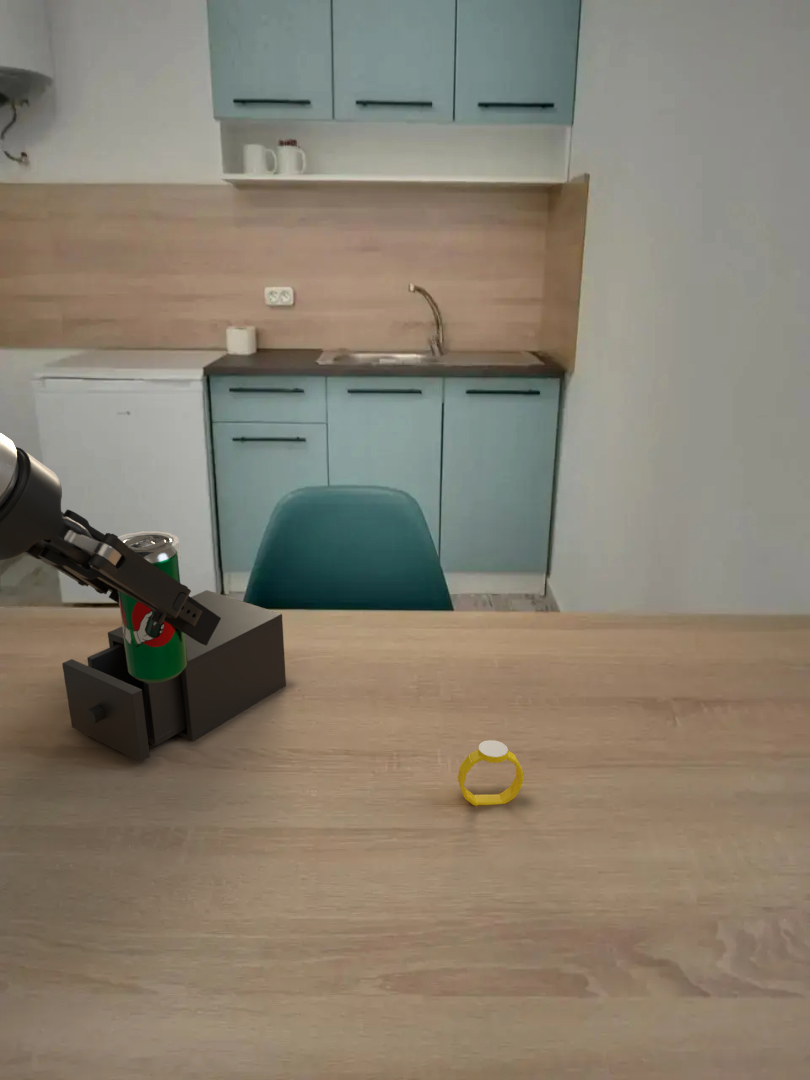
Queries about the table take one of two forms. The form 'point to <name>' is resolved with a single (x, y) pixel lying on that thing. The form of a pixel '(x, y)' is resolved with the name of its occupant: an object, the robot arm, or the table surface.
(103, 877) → the table surface
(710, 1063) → the table surface
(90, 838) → the table surface
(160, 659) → the soda can
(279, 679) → the cabinet
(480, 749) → the watch
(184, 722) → the drawer
